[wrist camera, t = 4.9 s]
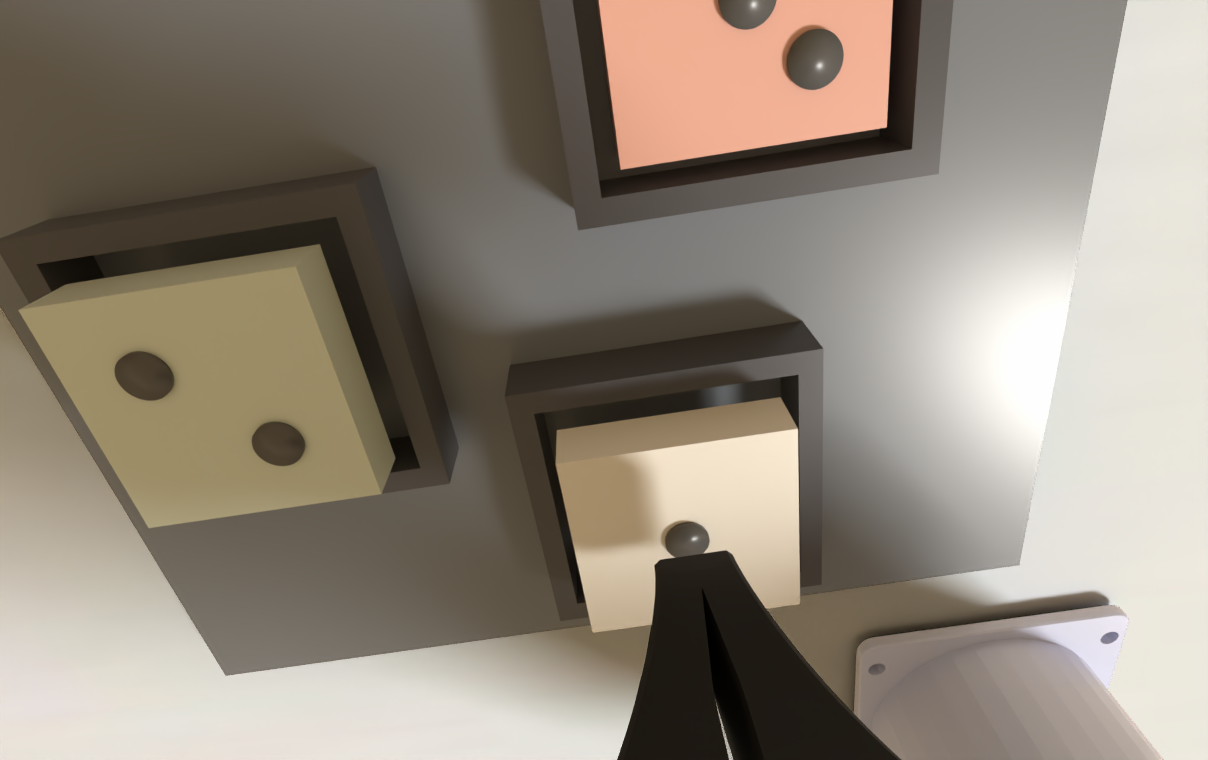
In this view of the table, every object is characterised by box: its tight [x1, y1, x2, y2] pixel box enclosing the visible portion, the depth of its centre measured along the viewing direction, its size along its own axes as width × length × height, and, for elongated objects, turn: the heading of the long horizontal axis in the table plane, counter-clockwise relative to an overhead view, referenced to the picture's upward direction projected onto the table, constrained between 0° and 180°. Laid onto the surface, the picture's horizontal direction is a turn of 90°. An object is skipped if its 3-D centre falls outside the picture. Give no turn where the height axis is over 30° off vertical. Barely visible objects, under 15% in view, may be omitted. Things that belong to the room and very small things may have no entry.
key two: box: [18, 244, 395, 528], centre depth 13 cm, size 5×5×1 cm
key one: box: [556, 397, 800, 633], centre depth 14 cm, size 5×5×1 cm
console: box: [0, 0, 1127, 676], centre depth 14 cm, size 18×22×2 cm
